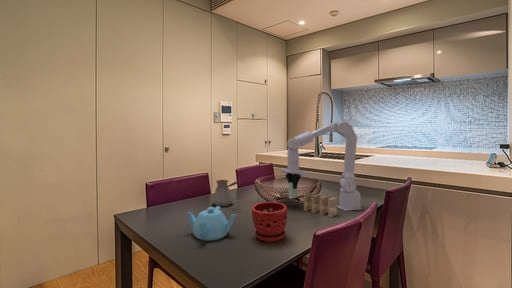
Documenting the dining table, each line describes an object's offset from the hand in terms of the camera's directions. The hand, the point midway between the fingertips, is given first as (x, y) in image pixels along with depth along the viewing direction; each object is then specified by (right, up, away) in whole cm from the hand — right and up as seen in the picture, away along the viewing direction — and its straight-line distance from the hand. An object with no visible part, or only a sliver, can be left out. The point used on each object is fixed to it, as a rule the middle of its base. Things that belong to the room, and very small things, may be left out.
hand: (293, 188), depth 145 cm
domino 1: (+7, -10, -4) cm, 13 cm away
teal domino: (0, -5, 0) cm, 5 cm away
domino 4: (+17, -11, -13) cm, 24 cm away
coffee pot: (-34, -10, +4) cm, 36 cm away
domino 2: (+10, -10, -7) cm, 16 cm away
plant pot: (-14, -13, -38) cm, 42 cm away
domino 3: (+13, -11, -10) cm, 20 cm away
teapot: (-37, -13, -35) cm, 52 cm away
